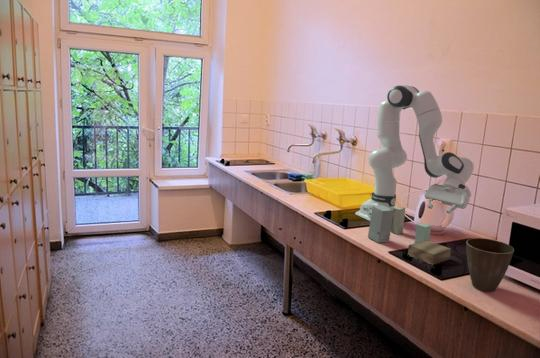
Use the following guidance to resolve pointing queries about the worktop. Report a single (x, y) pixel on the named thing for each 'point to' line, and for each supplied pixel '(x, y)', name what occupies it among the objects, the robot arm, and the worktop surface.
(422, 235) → the sage column
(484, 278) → the plant pot
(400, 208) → the box
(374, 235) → the skincare box
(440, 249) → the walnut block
